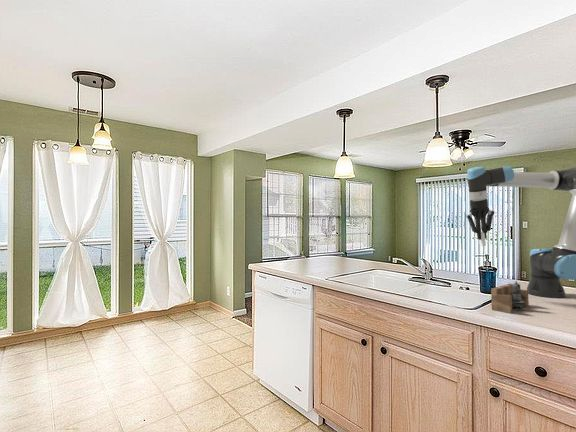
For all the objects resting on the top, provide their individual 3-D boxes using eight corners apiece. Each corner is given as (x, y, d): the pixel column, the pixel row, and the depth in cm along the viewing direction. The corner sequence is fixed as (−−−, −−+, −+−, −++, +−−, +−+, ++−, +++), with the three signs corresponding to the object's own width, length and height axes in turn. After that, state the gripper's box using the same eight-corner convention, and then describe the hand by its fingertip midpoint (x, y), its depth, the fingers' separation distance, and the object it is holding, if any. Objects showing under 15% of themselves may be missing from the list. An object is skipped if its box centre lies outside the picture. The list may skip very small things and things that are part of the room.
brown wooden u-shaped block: (510, 303, 147) (510, 283, 147) (528, 306, 141) (528, 285, 141) (491, 309, 137) (491, 288, 137) (510, 313, 131) (509, 291, 132)
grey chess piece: (518, 307, 141) (517, 279, 141) (528, 310, 135) (528, 282, 135) (505, 307, 140) (504, 279, 141) (515, 311, 135) (514, 282, 135)
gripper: (468, 202, 153) (472, 249, 157) (496, 197, 152) (500, 245, 156) (461, 200, 161) (465, 245, 165) (488, 195, 159) (492, 241, 163)
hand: (482, 245), depth 160 cm, fingers closed
